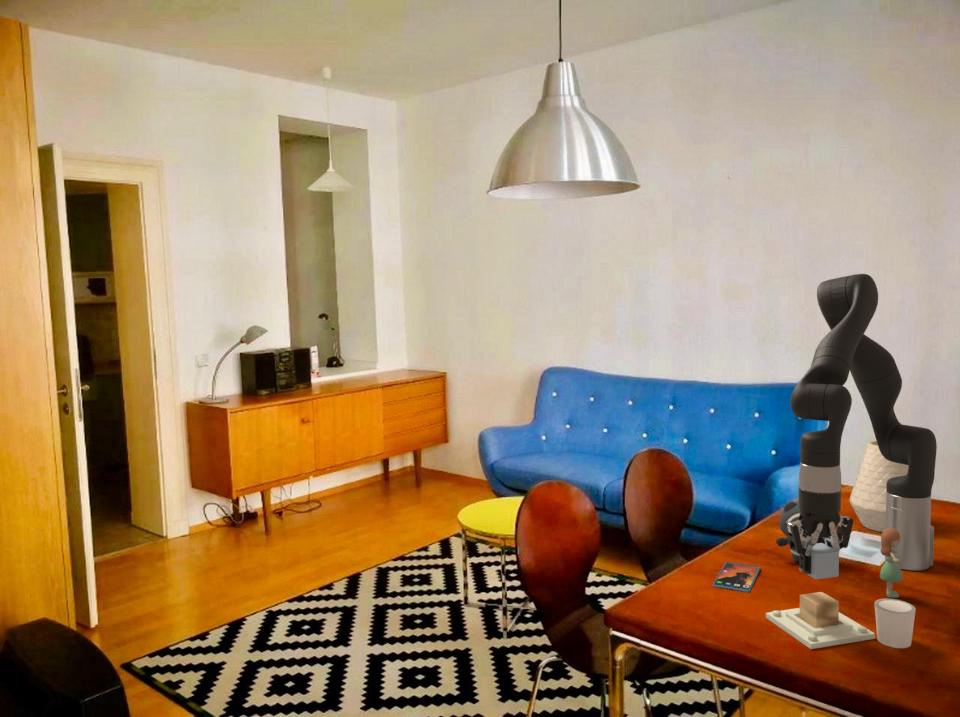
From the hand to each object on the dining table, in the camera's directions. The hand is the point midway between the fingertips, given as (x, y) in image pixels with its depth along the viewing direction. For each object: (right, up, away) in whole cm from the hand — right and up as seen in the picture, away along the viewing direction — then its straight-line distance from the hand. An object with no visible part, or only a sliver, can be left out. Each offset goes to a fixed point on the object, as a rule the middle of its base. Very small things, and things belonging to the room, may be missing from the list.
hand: (818, 570), depth 148 cm
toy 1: (+12, -8, +35) cm, 38 cm away
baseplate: (0, -12, +1) cm, 12 cm away
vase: (+44, -5, +58) cm, 73 cm away
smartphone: (-7, -10, +27) cm, 30 cm away
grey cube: (0, 0, 0) cm, 0 cm away
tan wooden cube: (+1, -11, +1) cm, 11 cm away
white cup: (+12, -12, -5) cm, 18 cm away
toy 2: (+22, -10, +14) cm, 28 cm away
